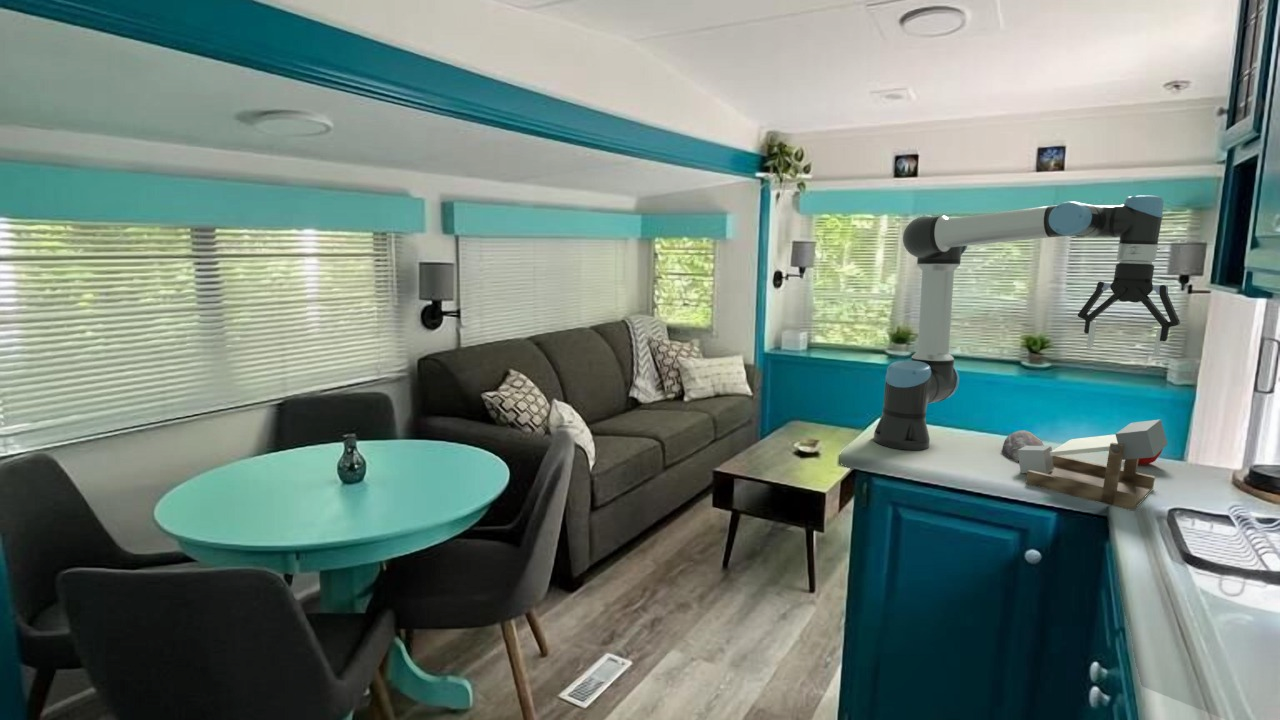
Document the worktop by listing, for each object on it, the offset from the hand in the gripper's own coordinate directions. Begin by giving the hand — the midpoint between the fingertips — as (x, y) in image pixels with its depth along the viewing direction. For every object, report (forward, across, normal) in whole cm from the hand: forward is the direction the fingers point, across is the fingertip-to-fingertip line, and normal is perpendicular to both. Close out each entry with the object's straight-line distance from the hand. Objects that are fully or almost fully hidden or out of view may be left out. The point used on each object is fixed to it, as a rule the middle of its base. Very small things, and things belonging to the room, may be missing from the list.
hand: (1121, 351), depth 168 cm
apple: (+33, +3, +27) cm, 43 cm away
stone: (+33, -20, +6) cm, 39 cm away
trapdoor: (+24, +2, -7) cm, 25 cm away
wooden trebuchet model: (+33, -1, -8) cm, 34 cm away
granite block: (+26, -14, -8) cm, 31 cm away
